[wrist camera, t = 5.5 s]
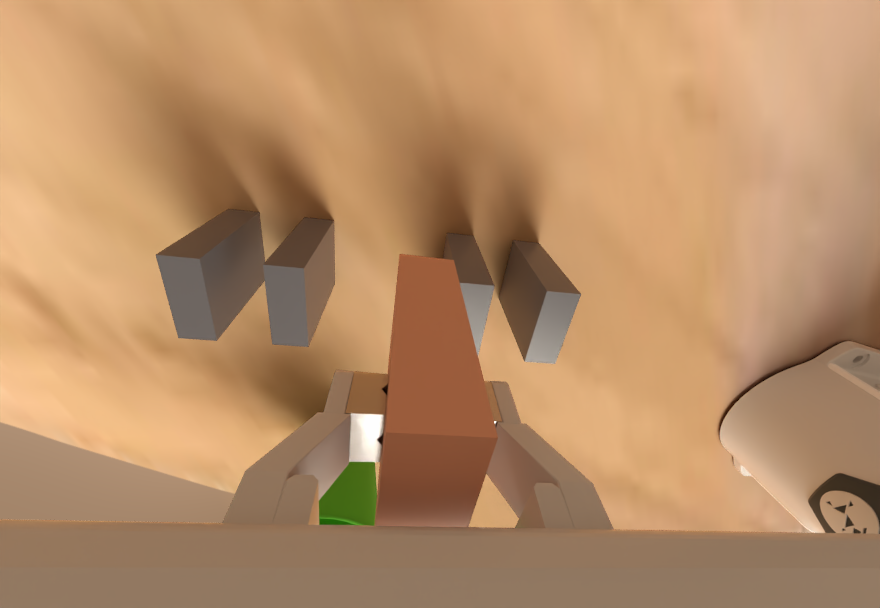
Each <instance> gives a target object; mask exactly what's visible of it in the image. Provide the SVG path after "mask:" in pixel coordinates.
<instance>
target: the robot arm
mask: <svg viewBox="0 0 880 608" xmlns="http://www.w3.org/2000/svg"><path fill="white" fill-rule="evenodd" d="M388 378H389V374H379V373H368V372H358V371H355V372H353V371H343V370H336V372H335V373H334V376H333V380H332V384H331V387H330V391H329V394H328V398H327V401H326V405H325V409H324V412H318V413H316V414H315V415H314V416H313V417H311V418H310V419H309V420H308V421H307V422H305V423H304V424H303V425H302V426H300V427H299V428H298V429H297V430H295V431H294V432H293V433H292V434H290V435H289V436H288V437H287V438H286V439H284V440H283V441H282V442H281V443H279V444H278V445H277V446H276V447H274V448H273V449H272V450H271V451H269V452H268V453H267V454H266V455H265V456H263V457H262V458H261V459H260V460H258V461H257V462H256V463H255V464H253V465H252V466H251V467H250V468H248V469H247V470H246V471H245V473H244V475H243V477H242V480H241V482H240V484H239V486H238V489H237V491H236V493H235V496H234V498H233V500H232V502H231V504H230V506H229V509H228V511H227V513H226V515H225V518H224V520H223V522H222V523H186V522H185V523H184V522H126V521H125V522H124V521H64V520H63V521H62V520H2V519H0V608H880V350H878V349H874V348H871V347H868V346H865V345H862V344H859V343H856V342H853V341H846V342H842V343H840V344H838V345H836V346H834V347H832V348H830V349H829V350H827V351H825V352H824V353H822V354H820V355H819V356H817V357H816V358H814V359H812V360H810V361H808V362H805V363H803V364H800V365H797V366H794V367H792V368H789V369H786V370H784V371H782V372H780V373H777V374H775V375H773V376H772V377H770V378H768V379H766V380H764V381H763V382H761V383H760V384H758V385H757V386H755V387H754V388H752V389H751V390H750V391H748V392H747V393H746V394H745V395H744V396H743V397H741V398H740V399H739V400H738V401H737V402H736V403H735V404H734V406H733V407H732V408H731V409H730V411H729V412H728V413H727V415H726V417H725V418H724V420H723V423H722V425H721V428H720V441H721V443H722V445H723V447H724V448H725V449H726V450H727V451H728V452H730V453H731V454H732V456H733V460H734V466H735V468H736V469H737V470H738V471H739V472H740V473H741V474H742V475H744V476H753V477H754V478H755V479H756V480H757V481H758V482H759V483H760V484H761V485H762V486H763V487H764V488H765V489H766V490H767V491H768V492H769V493H770V494H771V495H772V496H773V497H774V498H775V499H776V500H777V501H778V502H779V503H780V504H781V505H782V506H783V507H784V508H785V509H786V510H787V511H788V512H789V513H790V514H791V515H792V516H794V517H795V518H796V519H797V520H798V521H799V522H800V523H801V524H802V525H803V526H804V527H805V528H807V529H808V530H810V531H812V532H815V533H795V532H734V531H674V530H615V529H613V527H612V524H611V522H610V520H609V518H608V516H607V513H606V511H605V509H604V507H603V505H602V503H601V500H600V498H599V496H598V494H597V492H596V490H595V487H594V485H593V483H592V482H590V481H589V480H588V479H587V478H586V477H585V476H584V475H583V474H582V473H580V472H579V471H578V470H577V469H576V468H575V467H574V466H573V465H572V464H570V463H569V462H568V461H567V460H566V459H565V458H564V457H563V456H562V455H560V454H559V453H558V452H557V451H556V450H555V449H554V448H553V447H552V446H550V445H549V444H548V443H547V442H546V441H545V440H544V439H543V438H541V437H540V436H539V435H538V434H537V433H536V432H535V431H534V430H533V429H531V428H530V427H529V426H528V425H527V424H522V423H521V420H520V418H519V415H518V412H517V409H516V406H515V403H514V400H513V397H512V394H511V391H510V388H509V385H508V383H507V382H499V381H490V382H489V381H484V383H485V387H486V391H487V395H488V399H489V403H490V407H491V411H492V415H493V419H494V423H495V427H496V431H497V435H498V440H497V443H496V446H495V449H494V452H493V454H492V457H491V460H490V463H489V466H488V469H487V472H486V474H487V475H488V476H489V478H490V479H491V480H492V482H493V483H494V485H495V486H496V487H497V489H498V490H499V491H500V493H501V494H502V496H503V497H504V498H505V500H506V501H507V502H508V504H509V505H510V506H511V508H512V509H513V511H514V512H515V513H516V515H517V516H518V517H519V520H518V523H517V525H516V527H515V528H483V527H425V526H368V525H319V500H320V499H321V497H322V496H323V495H324V494H325V492H326V491H327V490H328V489H329V488H330V486H331V485H332V484H333V483H334V481H335V480H336V479H337V478H338V476H339V475H340V474H341V473H342V472H343V470H344V469H345V468H346V467H347V465H348V464H349V462H380V460H381V451H382V442H383V433H384V423H385V412H386V401H387V389H388Z"/></svg>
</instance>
